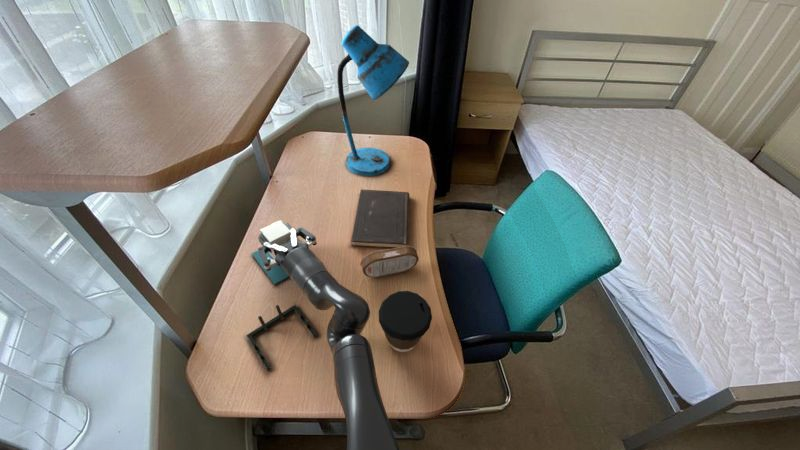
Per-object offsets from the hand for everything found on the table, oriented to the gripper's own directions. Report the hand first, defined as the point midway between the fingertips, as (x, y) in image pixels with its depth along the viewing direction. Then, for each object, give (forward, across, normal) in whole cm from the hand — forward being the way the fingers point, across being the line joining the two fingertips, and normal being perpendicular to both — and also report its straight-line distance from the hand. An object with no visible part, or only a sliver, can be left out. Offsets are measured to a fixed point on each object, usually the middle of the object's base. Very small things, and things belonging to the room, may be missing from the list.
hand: (272, 230), depth 83 cm
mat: (-2, 0, -9) cm, 9 cm away
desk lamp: (+18, +47, -9) cm, 51 cm away
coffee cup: (-40, +9, -9) cm, 42 cm away
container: (-3, 0, -7) cm, 7 cm away
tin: (-24, +19, -9) cm, 32 cm away
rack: (-23, -11, -9) cm, 27 cm away
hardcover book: (-8, +30, -9) cm, 32 cm away
